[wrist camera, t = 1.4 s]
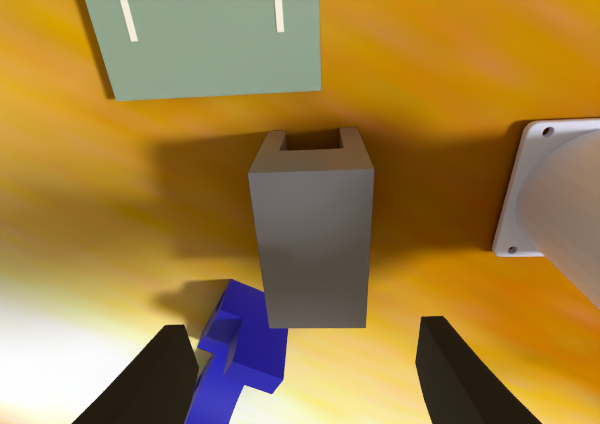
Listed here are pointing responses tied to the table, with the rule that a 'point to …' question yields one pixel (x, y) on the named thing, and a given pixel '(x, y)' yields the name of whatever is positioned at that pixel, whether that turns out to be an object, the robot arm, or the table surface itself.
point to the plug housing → (313, 231)
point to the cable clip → (237, 354)
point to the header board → (208, 46)
